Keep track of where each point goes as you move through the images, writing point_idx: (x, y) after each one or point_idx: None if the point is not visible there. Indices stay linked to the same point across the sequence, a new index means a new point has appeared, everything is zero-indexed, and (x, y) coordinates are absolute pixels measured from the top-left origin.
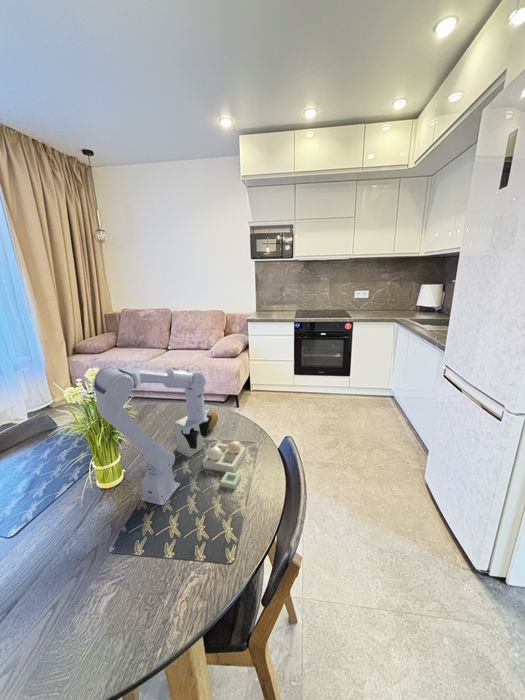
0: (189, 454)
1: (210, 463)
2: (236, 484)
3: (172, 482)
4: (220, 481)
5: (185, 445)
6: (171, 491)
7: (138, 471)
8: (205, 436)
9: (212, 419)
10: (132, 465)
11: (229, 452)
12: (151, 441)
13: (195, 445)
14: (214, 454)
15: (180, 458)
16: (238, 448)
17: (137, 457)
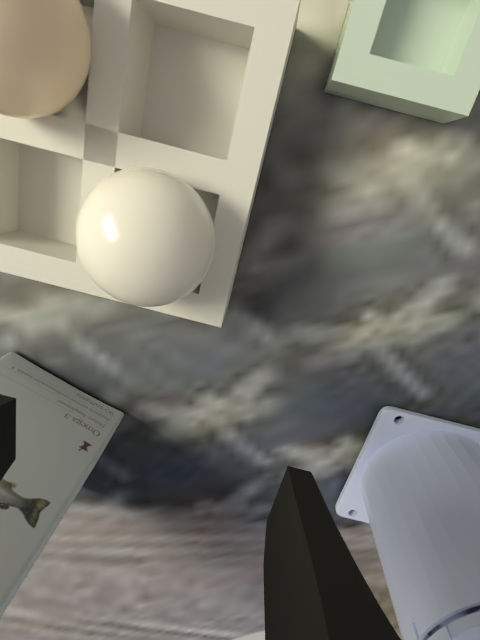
0: (116, 425)
1: (237, 257)
2: None
3: (469, 469)
4: (468, 113)
5: (77, 492)
6: (465, 438)
7: (262, 599)
8: (14, 412)
9: None
10: (219, 627)
11: (80, 89)
12: None
13: (332, 518)
14: (198, 233)
15: (141, 457)
16: None
17: (160, 625)
